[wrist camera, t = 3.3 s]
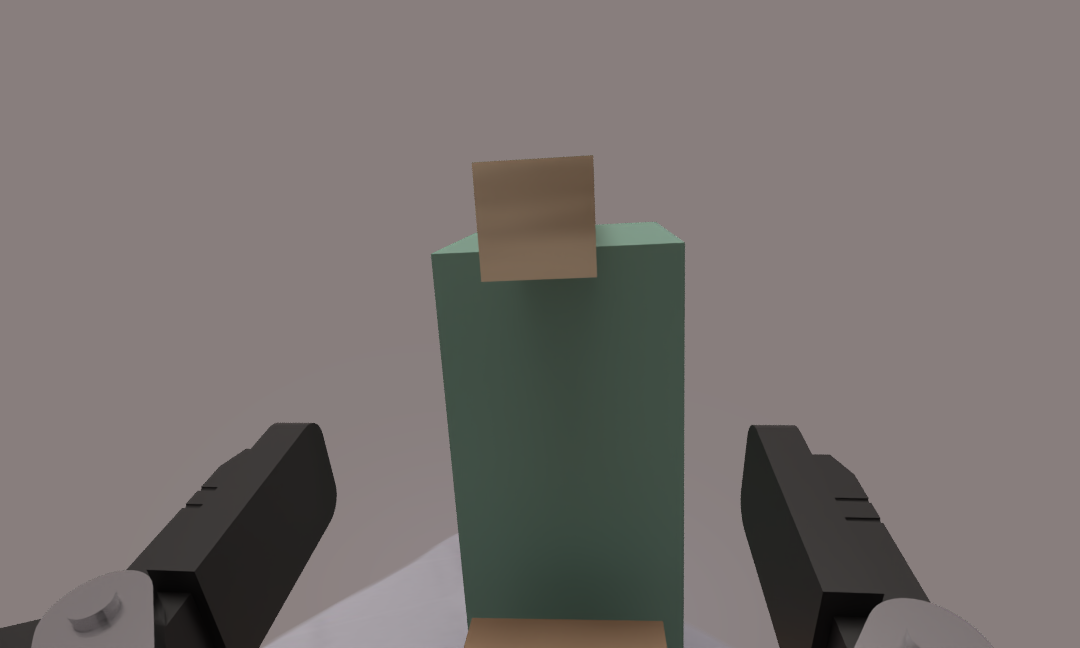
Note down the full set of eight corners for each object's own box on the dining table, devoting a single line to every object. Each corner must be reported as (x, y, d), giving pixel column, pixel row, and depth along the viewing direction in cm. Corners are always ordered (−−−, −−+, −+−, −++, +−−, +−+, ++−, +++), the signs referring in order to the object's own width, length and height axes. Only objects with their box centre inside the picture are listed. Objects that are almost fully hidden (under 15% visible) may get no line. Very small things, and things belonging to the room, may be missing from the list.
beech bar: (538, 228, 36) (534, 170, 35) (594, 226, 36) (593, 166, 35) (481, 281, 18) (471, 162, 17) (597, 277, 18) (593, 155, 17)
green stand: (517, 693, 46) (480, 230, 38) (659, 697, 45) (655, 221, 37) (491, 866, 35) (430, 254, 26) (682, 878, 33) (684, 242, 25)
